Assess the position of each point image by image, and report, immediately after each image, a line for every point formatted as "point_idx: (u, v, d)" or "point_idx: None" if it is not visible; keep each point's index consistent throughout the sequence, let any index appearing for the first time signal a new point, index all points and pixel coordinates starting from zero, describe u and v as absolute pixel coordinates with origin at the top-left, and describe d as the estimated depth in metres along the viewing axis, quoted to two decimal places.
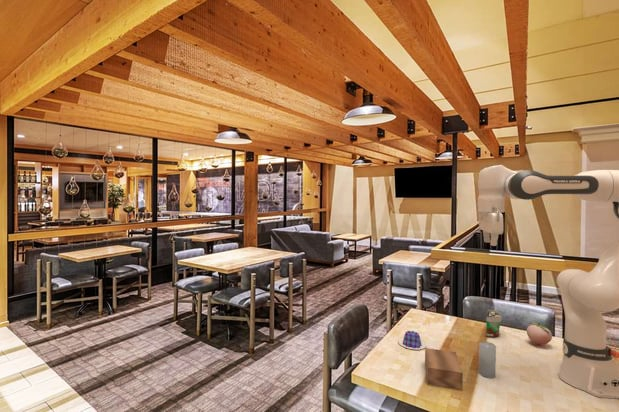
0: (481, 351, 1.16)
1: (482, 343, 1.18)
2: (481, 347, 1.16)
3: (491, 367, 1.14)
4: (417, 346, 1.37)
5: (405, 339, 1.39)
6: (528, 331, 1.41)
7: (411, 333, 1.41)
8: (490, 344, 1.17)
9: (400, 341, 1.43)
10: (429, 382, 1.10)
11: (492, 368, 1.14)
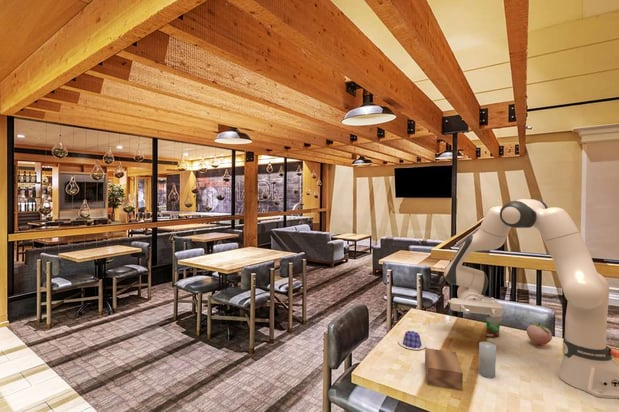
0: (481, 351, 1.16)
1: (482, 343, 1.17)
2: (481, 347, 1.16)
3: (491, 367, 1.14)
4: (417, 346, 1.37)
5: (405, 339, 1.39)
6: (528, 331, 1.41)
7: (411, 333, 1.41)
8: (490, 344, 1.17)
9: (400, 341, 1.43)
10: (429, 382, 1.10)
11: (492, 368, 1.14)
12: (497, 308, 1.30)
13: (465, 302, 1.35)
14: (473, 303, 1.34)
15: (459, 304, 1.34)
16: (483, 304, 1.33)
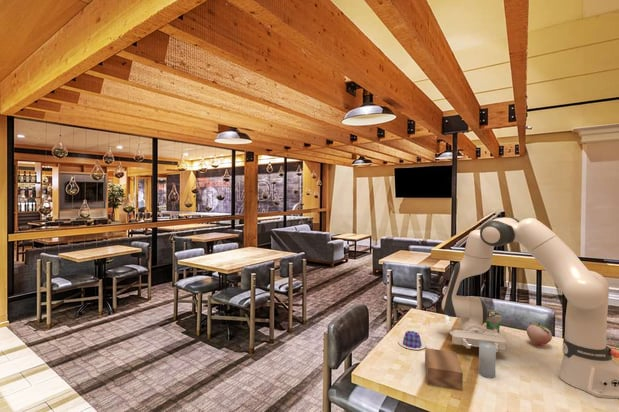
0: (481, 351, 1.16)
1: (482, 343, 1.17)
2: (481, 347, 1.16)
3: (491, 367, 1.14)
4: (417, 346, 1.37)
5: (405, 339, 1.39)
6: (528, 331, 1.41)
7: (411, 333, 1.41)
8: (490, 344, 1.17)
9: (400, 341, 1.43)
10: (429, 382, 1.10)
11: (492, 368, 1.14)
12: (500, 342, 1.27)
13: (467, 335, 1.32)
14: (475, 336, 1.31)
15: (461, 337, 1.31)
16: (485, 337, 1.30)
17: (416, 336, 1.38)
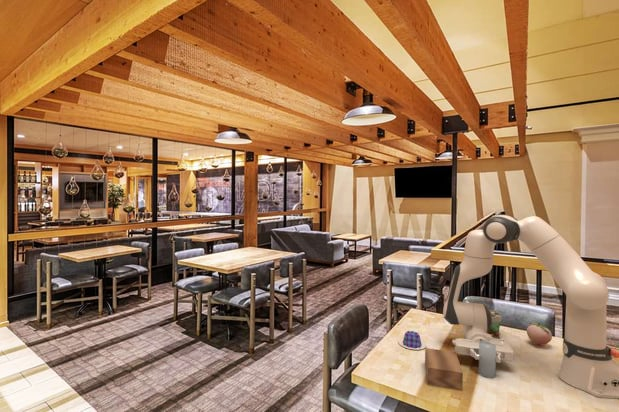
0: (481, 351, 1.16)
1: (482, 343, 1.18)
2: (481, 347, 1.16)
3: (491, 367, 1.14)
4: (418, 346, 1.37)
5: (406, 339, 1.39)
6: (528, 331, 1.41)
7: (411, 333, 1.41)
8: (490, 344, 1.17)
9: (400, 341, 1.42)
10: (429, 382, 1.10)
11: (492, 368, 1.14)
12: (507, 352, 1.18)
13: (471, 344, 1.23)
14: None
15: (465, 347, 1.22)
16: None
17: (416, 336, 1.38)
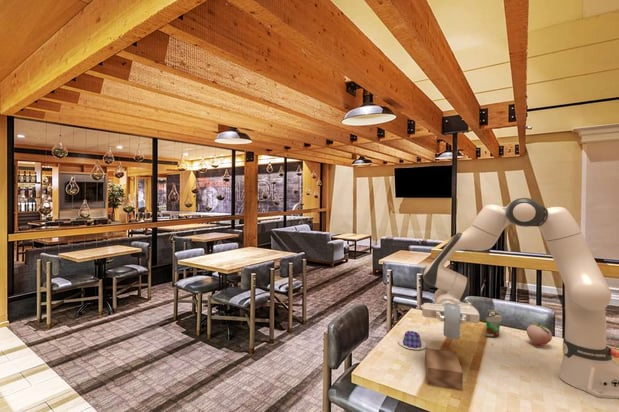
0: (446, 312, 1.15)
1: (447, 305, 1.17)
2: (446, 308, 1.15)
3: (454, 327, 1.13)
4: (418, 346, 1.37)
5: (406, 340, 1.39)
6: (528, 331, 1.41)
7: (411, 333, 1.41)
8: (455, 305, 1.16)
9: (400, 342, 1.42)
10: (429, 382, 1.10)
11: (456, 329, 1.13)
12: (472, 314, 1.17)
13: (438, 307, 1.23)
14: None
15: (431, 310, 1.21)
16: None
17: (417, 336, 1.38)
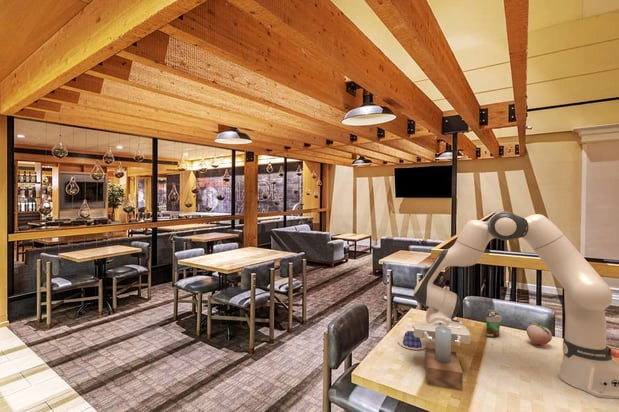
0: (436, 336, 1.14)
1: (438, 328, 1.16)
2: (436, 332, 1.14)
3: (445, 351, 1.13)
4: (419, 346, 1.37)
5: (406, 340, 1.39)
6: (528, 331, 1.41)
7: (411, 333, 1.41)
8: (446, 329, 1.15)
9: (400, 342, 1.42)
10: (429, 382, 1.10)
11: (447, 353, 1.13)
12: (463, 335, 1.17)
13: (429, 327, 1.22)
14: None
15: (422, 330, 1.21)
16: None
17: None
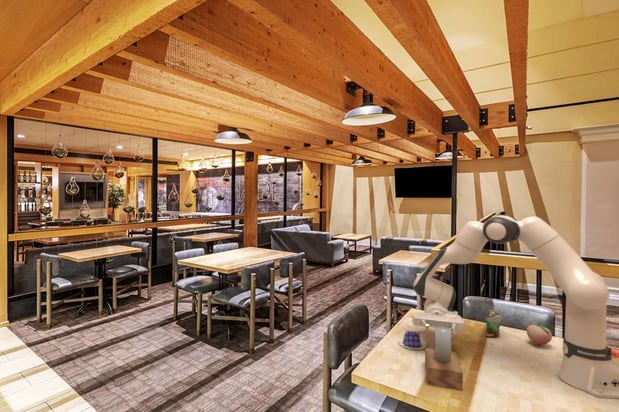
0: (436, 335, 1.15)
1: (438, 328, 1.16)
2: (436, 331, 1.15)
3: (446, 351, 1.13)
4: (419, 345, 1.37)
5: (407, 340, 1.38)
6: (528, 331, 1.41)
7: (411, 333, 1.41)
8: (446, 329, 1.16)
9: (400, 342, 1.41)
10: (429, 382, 1.10)
11: (447, 352, 1.13)
12: (458, 323, 1.28)
13: (427, 316, 1.33)
14: (435, 317, 1.32)
15: (420, 319, 1.32)
16: (445, 319, 1.31)
17: (417, 336, 1.38)
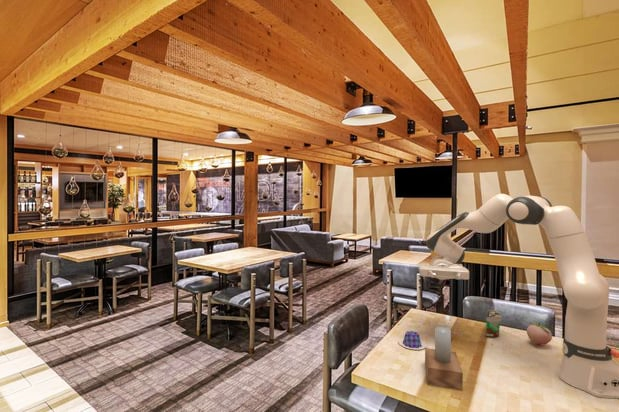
0: (436, 336, 1.14)
1: (438, 328, 1.16)
2: (436, 332, 1.14)
3: (446, 351, 1.13)
4: (420, 345, 1.38)
5: (407, 340, 1.38)
6: (528, 331, 1.41)
7: (411, 333, 1.41)
8: (445, 329, 1.15)
9: (400, 343, 1.41)
10: (429, 382, 1.10)
11: (447, 353, 1.13)
12: (463, 272, 1.35)
13: (433, 268, 1.41)
14: (441, 268, 1.40)
15: (427, 269, 1.40)
16: (450, 269, 1.39)
17: (418, 335, 1.38)
